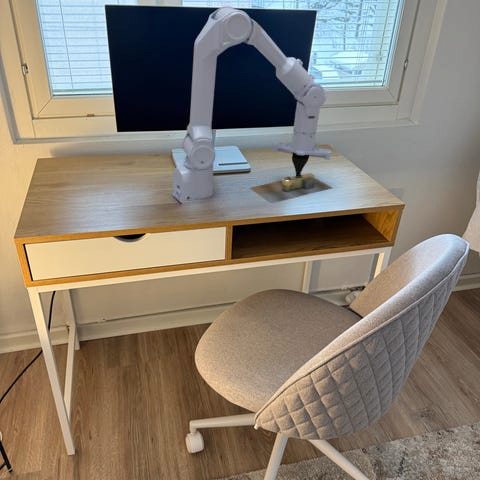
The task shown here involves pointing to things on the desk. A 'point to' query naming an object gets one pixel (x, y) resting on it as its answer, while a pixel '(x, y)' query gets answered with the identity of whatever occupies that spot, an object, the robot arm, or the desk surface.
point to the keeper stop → (309, 183)
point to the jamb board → (276, 194)
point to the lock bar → (295, 181)
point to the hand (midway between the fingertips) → (297, 180)
